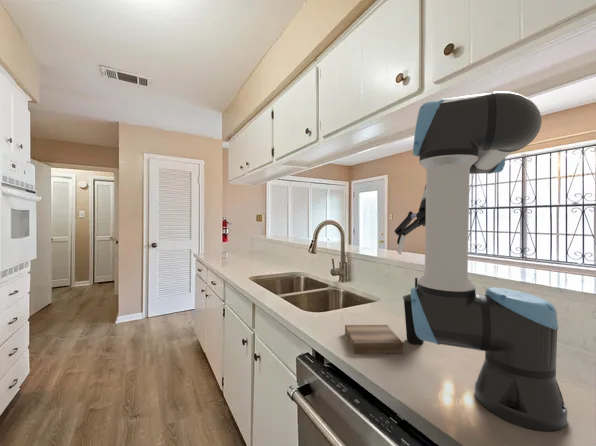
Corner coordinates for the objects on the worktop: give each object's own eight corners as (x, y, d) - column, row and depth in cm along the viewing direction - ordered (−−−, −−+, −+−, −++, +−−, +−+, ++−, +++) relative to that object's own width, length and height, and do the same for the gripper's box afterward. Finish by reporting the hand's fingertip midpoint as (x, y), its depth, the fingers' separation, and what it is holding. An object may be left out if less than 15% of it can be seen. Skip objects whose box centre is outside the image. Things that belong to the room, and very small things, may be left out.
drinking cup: (425, 349, 86) (426, 281, 85) (398, 342, 90) (399, 278, 90) (431, 340, 92) (432, 277, 91) (406, 334, 96) (407, 274, 96)
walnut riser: (402, 353, 83) (403, 343, 83) (354, 353, 82) (354, 343, 82) (386, 333, 97) (386, 324, 97) (344, 333, 96) (345, 324, 96)
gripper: (472, 210, 100) (461, 267, 94) (400, 205, 116) (386, 254, 109) (470, 198, 95) (458, 258, 88) (395, 195, 110) (380, 246, 104)
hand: (418, 256), depth 99 cm, fingers open, 13 cm apart
